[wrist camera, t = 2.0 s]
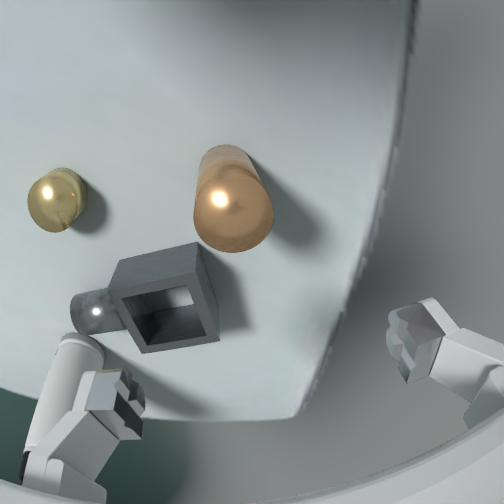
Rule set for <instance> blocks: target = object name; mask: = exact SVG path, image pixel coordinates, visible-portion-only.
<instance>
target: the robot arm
mask: <svg viewBox="0 0 504 504" xmlns="http://www.w3.org/2000/svg"><path fill="white" fill-rule="evenodd" d="M388 321H389V323H390V325H391V326H390V327H389V328H388V330H387V331H386V344H387V348H388V351H389V353H390V355H391V357H392V358H393V359H395V360H397V361H399V366H398V369H399V371H400V373H401V375H402V376H403V378H404V380H405V382H406V383H410V382H412V381H415V380H417V379H420V378H423V377H426V376H428V375H429V376H430V377H431V378H433V379H434V380H436V381H437V382H439V383H440V384H442V385H444V386H445V387H447V388H448V389H450V390H451V391H453V392H454V393H456V394H458V395H459V396H461V397H463V398H464V399H466V400H467V401H469V402H470V403H471V404H470V406H469V407H468V409H467V410H466V412H465V413H464V416H463V420H464V421H465V423H466V425H467V427H468V429H469V430H467V431H465V432H464V433H462V434H460V435H458V436H457V437H455V438H453V439H451V440H449V441H447V442H445V443H443V444H441V445H439V446H437V447H435V448H433V449H431V450H429V451H427V452H425V453H423V454H421V455H419V456H416V457H414V458H412V459H410V460H407V461H405V462H402V463H400V464H398V465H395V466H393V467H390V468H387V469H385V470H382V471H380V472H377V473H374V474H371V475H368V476H366V477H363V478H359V479H356V480H353V481H350V482H347V483H343V484H340V485H337V486H333V487H330V488H326V489H322V490H318V491H314V492H310V493H306V494H301V495H296V496H291V497H286V498H281V499H275V500H270V501H263V502H257V503H249V504H504V344H501V343H499V342H497V341H494V340H492V339H489V338H487V337H485V336H482V335H480V334H477V333H475V332H472V331H470V330H468V329H465V328H461V329H459V327H458V326H457V325H456V324H455V322H453V320H452V319H451V317H450V316H449V315H448V314H447V313H446V312H445V310H444V309H443V308H442V307H441V305H440V304H439V303H438V302H437V301H436V300H435V299H434V298H432V297H430V298H428V299H425V300H422V301H419V302H416V303H413V304H410V305H407V306H404V307H402V308H398V309H396V310H393V311H391V312H390V313H389V317H388ZM144 411H145V396H144V392H143V390H142V388H141V386H140V385H139V384H138V383H136V382H135V381H133V380H132V374H131V373H130V371H129V370H128V369H126V368H122V369H109V370H96V371H86V372H85V373H84V374H83V375H82V378H81V381H80V385H79V388H78V391H77V395H76V398H75V402H74V405H73V409H72V411H68V412H67V413H66V414H65V415H64V416H63V418H62V419H61V420H60V421H59V422H58V423H57V424H56V425H55V426H54V427H53V428H52V429H51V430H50V432H49V433H48V434H47V435H46V436H45V437H44V438H43V439H42V440H41V441H40V442H39V444H38V445H37V446H36V447H35V448H34V449H33V450H32V451H31V452H30V453H29V457H28V461H27V465H26V469H25V473H24V478H23V483H22V486H19V485H16V484H13V483H10V482H7V481H4V480H1V479H0V504H106V493H107V491H106V490H105V489H104V488H103V487H101V486H99V485H98V484H96V483H95V482H94V480H95V478H96V477H97V475H98V474H99V472H100V471H101V469H102V468H103V466H104V465H105V463H106V461H107V460H108V458H109V457H110V455H111V454H112V452H113V450H114V449H115V448H116V446H117V444H118V443H119V440H133V439H142V431H143V423H144V422H143V420H142V419H141V417H140V416H141V414H142V413H143V412H144Z"/></svg>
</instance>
